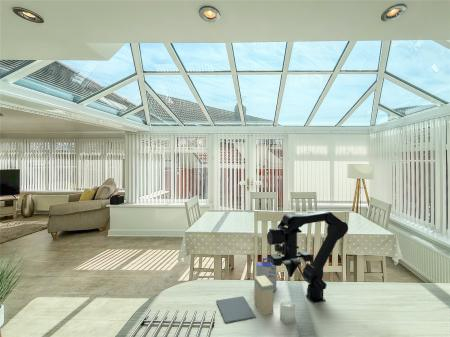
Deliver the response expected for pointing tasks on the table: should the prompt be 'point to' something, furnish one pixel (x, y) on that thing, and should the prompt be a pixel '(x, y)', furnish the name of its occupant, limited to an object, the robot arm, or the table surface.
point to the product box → (267, 271)
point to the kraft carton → (263, 294)
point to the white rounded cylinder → (287, 312)
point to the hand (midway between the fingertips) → (290, 276)
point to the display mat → (235, 309)
